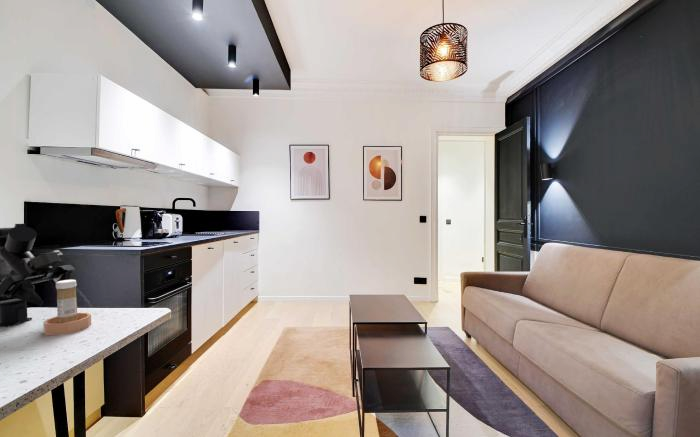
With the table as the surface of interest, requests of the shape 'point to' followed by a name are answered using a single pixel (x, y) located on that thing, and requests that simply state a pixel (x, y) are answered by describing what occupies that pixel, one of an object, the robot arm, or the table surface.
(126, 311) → the table surface
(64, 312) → the sprinkles bottle
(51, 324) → the terracotta bowl
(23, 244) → the robot arm
